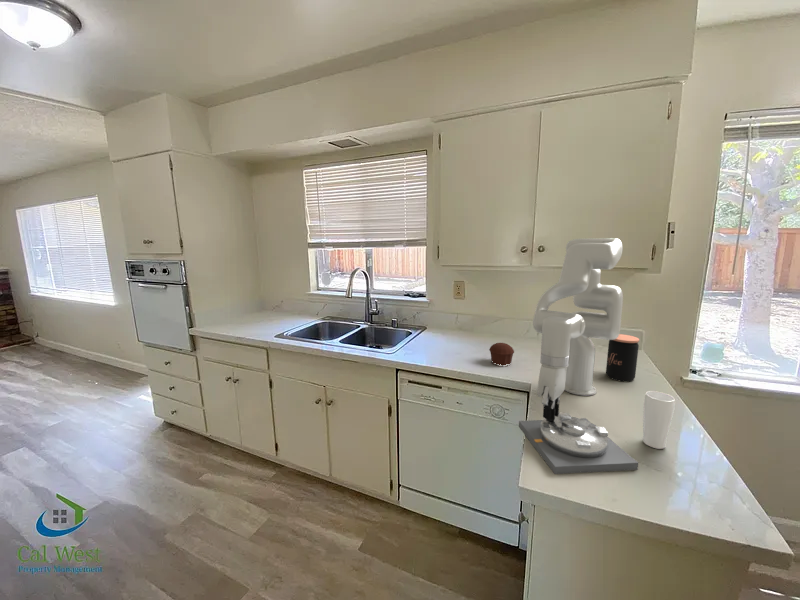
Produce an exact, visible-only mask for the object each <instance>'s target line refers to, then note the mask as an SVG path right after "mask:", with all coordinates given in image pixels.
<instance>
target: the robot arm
mask: <svg viewBox="0 0 800 600" xmlns="http://www.w3.org/2000/svg"><path fill="white" fill-rule="evenodd" d="M622 254H623V243H622V241H621V240H620V239H619V238H617V237H616V238H615V237H614V238H613V237H611V238H610V237H609V238H608V237H600V238H596V237H595V238H593V237H589V238H586V237H585V238H575V239H571V240H569V241H568V242H567V243H566V246H565V256H564V259H563V263H562V267H561V272H560V276H559V279H558V282H556V283H555V284H553V285H552V286H550V287H548V289H546V291H545V292H543V294H542V295H541V296H540V297H539V299H538V301H537V303H536V307H535V310H534V315H533V320H532V326H533V329H534V330H535V332H537V333H539V334H541V345H540V364H541V366H540V369H539V376H538V382H537V383H538V384H537V393H536V395H537V397H539V398H541V397H542V400H541V404H542V405H543V409H542V410H543V413H542V417H543V419H545V418H546V419H549V420H552V421H554V420H555V416H556V417H557V416H558V415H559V411H560V402H561V401H560V400H561V395H562V394H563V393H564V391H565V392H567V393H570V394H573V395H576V396H577V395H578V396H584V397H586V396H587V397H588V396H594V395H595V394H597V388H596V387H595V385H593V382H594V381H593V379H594V370H595V360H596V359H595V358H596V346H595V344H594V342H593V340H591V339H599V340H607V341H609V340H615V339H616V338H617V337H618V336H619V334H621V333H620V332H621V327H622V326H621V325H622V313H623V304H624V303H623V302H624V297H623V295H624V294H623V291H622V289H621V288H620V286H617V285H612V284H601V275H602V274H601V273H602V270H612V269H614V268H615V267H616V266H617V264H618V262H619V261H620V259H621V258H622ZM568 297H569V298H570V297H573V298H572V299H573V304H574V306H575V307H576V308H580V309H586V310H594V311H604V312H605V313H600V312H591V311H583V310H581V311H580V310H577V311H572V312H564V311H557V310H548V309H549V308H550V306H551V305H552V304H554V303H556V302H557V301H560V300H563V299H565V298H568ZM548 400H551V402H550V401H548ZM554 404H555V408H554Z"/></svg>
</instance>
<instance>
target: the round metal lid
mask: <svg viewBox="0 0 800 600" xmlns="http://www.w3.org/2000/svg"><path fill="white" fill-rule="evenodd" d="M548 401H550V402H551V400H548ZM554 408H555V404H554ZM541 420H542V422H541V424H540V426H541V429H540V434H541V437H542V438H543V440H544V441H545V442H546V443H547V444H549V445H550V446H551V447H553V448H555V449H557V450H559V451H561V452H564V453H566V454H569V455H573V456H578V457H597V456H601V455H603V454H604V453H605V452H606V451H607V445H608V438H609V432H608V431H607V430H606V428H605V427H604V426H598V425H596V424H594V423H592V422H591V421H589V420H588V421H589V422H588V421H585V420H583V419H580V418H579V417H575V416H572V415H571V414H570V413H569V412H561V411H560V412H559V415H558V416H557V417H556V416H555V420H554V421H552V420H549V419H546V418H543V419H541ZM590 422H591V423H590Z"/></svg>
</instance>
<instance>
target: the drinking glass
mask: <svg viewBox="0 0 800 600" xmlns="http://www.w3.org/2000/svg"><path fill="white" fill-rule="evenodd" d="M675 405H676V399H675V398H674V396H672V395H671V394H668V393H666V392H661V391H656V390H648V391H646V392H645V394H644V399H643V419H642V421H643V423H642V424H643V425H642V427H643V428H642V442H643V443H644V445H646V446H649V447H650V448H654V449H657V450H662V449H665V448H666V446H667V441H668V435H669V432H670V428H671V424H672V421H673V417H674V414H675V413H674V412H675V407H676V406H675Z"/></svg>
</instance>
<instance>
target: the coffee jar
mask: <svg viewBox="0 0 800 600" xmlns="http://www.w3.org/2000/svg"><path fill="white" fill-rule="evenodd" d="M639 342H640V338H639V337H636V336H633V335H629V334H622V333H619V336H618V337H617V338H616V339H615V340H608V347H607V349H608V350H607V357H606V367H605V374H606V375H608V376H609V377H610V379H611V378H613V379H612V380H614V379H615V381H618V380H620V381H619V382H624V381H629V382H633V381H634V379H636V373H637V365H638V364H637V363H638V356H639V347H640V346H639ZM608 376H607V377H608ZM609 377H608V378H609Z"/></svg>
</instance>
